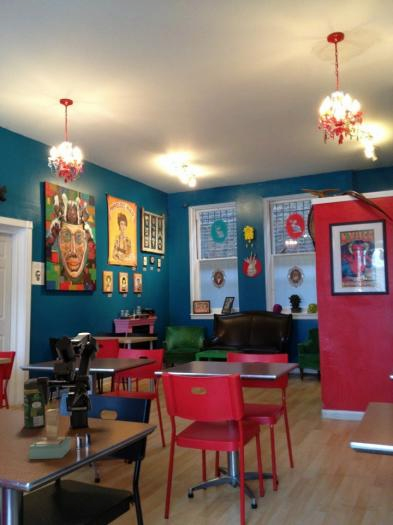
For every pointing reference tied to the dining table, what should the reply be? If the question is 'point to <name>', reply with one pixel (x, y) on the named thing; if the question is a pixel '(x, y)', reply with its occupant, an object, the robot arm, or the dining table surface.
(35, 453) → the teal square tray
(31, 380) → the coffee jar
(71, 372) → the robot arm
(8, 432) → the dining table surface
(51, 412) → the tan boxy piece
